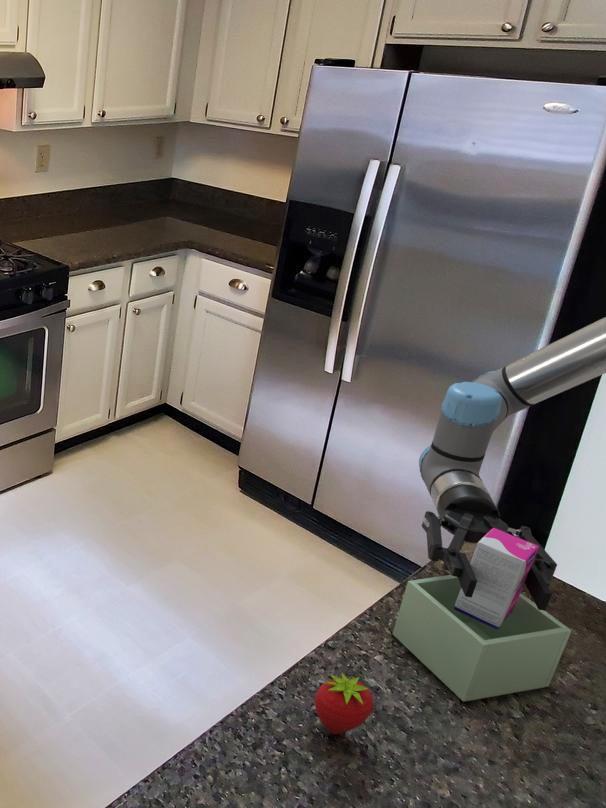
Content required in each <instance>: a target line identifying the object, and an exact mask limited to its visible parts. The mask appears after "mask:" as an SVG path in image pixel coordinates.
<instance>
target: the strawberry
mask: <svg viewBox="0 0 606 808" xmlns="http://www.w3.org/2000/svg"><path fill="white" fill-rule="evenodd" d="M329 676H330V678H332V679H329V680H327V681H324V682H323V683H322V684H321V685H320V687H319V688H318V690H317V691H316V693H315V695H314V705H315V707H314V708H315V713H316V715H317V717H318V719H319V720H320V722H321V724H322V725H323V726H324V727H325V728H326V730H327V732H329V733H330V734H331V735H340V734H341V733H346V732H349V731H352V730H354V729H356V728H358V727H359V726H361V725H363V723H365V722H366V721H367V719H368V718H369V717H370V716H371V714H372V712H373V710H374V696H373V694H372V692H371V690H370V688H369V687H367V686H365V685H364V684H363V683H361V682H359V679H360V676H358V677H355V678H348V677H347V676H346V675H345V674H344V673H343V672H341V677H338V676H336V675H334V674H331V673H329Z"/></svg>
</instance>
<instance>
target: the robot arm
mask: <svg viewBox="0 0 606 808" xmlns="http://www.w3.org/2000/svg"><path fill="white" fill-rule="evenodd" d="M604 374H606V316H605V317H602V318H600V319H598V320H596V321H594V322H593V323H590V324H588V325H586V326H584V327H582V328H580V329H578V330H576V331H573V332H572V333H570V334H568V335H566V336H564V337H562V338H559V339H557V340H556V341H553V342H552V343H549V344H548V345H546V346H543V347H541V348H539V349H537V350H535V351H533V352H531V353H529V354H527V355H525V356H523V357H521V358H518V359H517V360H514V361H512V362H510V363H509V364H507V365H505V366H503V367H501V368H499V369H496V370H492V371H488V372H485V373H483V374H481V375H479V376H478V377H476V378H474V379H473V380H472V381H462V382H455V383H453V384H451V385H450V386H449V387H448V389H447V391H446V394H445V397H444V399H443V400H442V402H441V408H440V413H439V417H438V420H437V424H436V428H435V431H434V435H433V438H432V441H431V444H430V445H429V446H427V447H426V448H425V449H424V450H423V451H422V452H421V454H420V455H419V458H418V467H419V473H420V477H421V480H422V481H423V483H424V485H425V487H426V489H427V491H428V493H429V496H430V498H431V499H432V502H433V504H434V507H435V509H436V511H437V514H438V516H437V515H436V514H435V513H434V512H433V511H431V510H429V511H428V510H426V511H425V513H424V516H423V520H422V523H421V528H422V529H423V530H424V532H425V533H426V545H427V558H428V559H429V560H430V561H433V562H438V561H439V560H440V561H442V566H441V568H442V569H443V570H445V571H448V572H449V575H452V576H455V577H458V580H459V582H460V585H461V587H462V590H463V592H464V595H465V597H471V598H472V595H473V592H474V590H475V587H476V584H477V579H476V577H475V574H474V572H473V570H472V568H471V565H470V561H469V559H468V556H467V554H466V552H461V550H462V549H463V546H464V545H465V542H466V543H469V544H477V543H478V542H479V541H480V540H481V539H482V538H483V537H484V536H485V535H486V534H487V533H488V532H489V531H490V530H491V529H493V528H496V529H498V530H500V531H503V532H505V533H508V534H510V535H512V536H515V537H517V538H520V539H522V540H525V541H528V542H530V543H533V544H535V545H537V546H539V549H538V551H537V554H536V556H535V559H534V561H533V563H532V566H531V568H530V571H529V573H528V576H527V578H526V581H525V583H524V585H525V587H526V589H527V591H528V593H529V594H530V597H531V599H532V600H533V602H534V603H535V604H536V606H537V608H538V610H544V611H546V610H547V607H548V605H549V602H550V600H551V597H552V595H553V593H552V592H551V590H550V588H549V587H550V586H551V581H552V580H553V577H554V575H555V572H556V569H557V566H558V563H557V562H556V561H555V560H554V558H552V557H551V555H550V554H549V553H548V552H547V551H546V550H545V549H544V547H543V546H542V545H541V544H540V543H539V542H538V541H537V540H536V538H535V537H534V536H533V535H532V530H531V528H530V527H529V526H526V525H521V526H520V528H518V529H516V528H512V527H509V526H508V524H507V523H506V522H504V521H503V520H502V519H501V515H500V512H499V509H498V507H497V505H496V503H495V502H494V500H493V498H492V496H491V494H490V491H488V488H487V487H486V485H485V484H484V482H483V480H482V478H481V476H480V471H481V468H482V465H483V462H484V460H485V457H486V453H487V449H488V447H489V444H490V441H491V439H492V435H493V433H494V431H495V430H496V429H497V428H498V427H499V426H500V425H501V424H502V423H503V422H504V421H506V419H508V417H510V416H512V415H514V414H516V413H518V412H521V411H523V410H525V409H527V408H529V407H532V406H534V405H536V404H538V403H540V402H542V401H545V400H547V399H549V398H551V397H554V396H556V395H558V394H559V395H560V393H564V392H565V391H568V390H570V389H572V388H574V387H577V386H579V385H582V384H585V383H586V382H588V381H590V380H592V379H593V380H594V379H596V378H597V377H600V376H602V375H604ZM442 528H443V529H444V530H446V531H447V532H448V533H449V534H451V535H452V536H453V537H452V539H451V541H450V543H449V545H448V547H444V546H443V539H442Z"/></svg>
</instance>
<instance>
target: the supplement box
mask: <svg viewBox="0 0 606 808" xmlns="http://www.w3.org/2000/svg"><path fill="white" fill-rule="evenodd" d="M538 549H539V546H537V545H535V544H533V543H530V542H528V541H525V540H522V539H520V538H517V537H515V536H512V535H510V534H508V533H505V532H503V531H500V530H498V529H496V528H493V529H491V530H490V531H489V532H488V533H487V534H486V535H485V536H484V537H483V538H482V539H481V540H480V541H479V542H478V543H476V547H475V549H474V552H473V554H472V557H471V560H470V561H469V563H470V565H471V568H472V570H473V572H474V574H475V577H476V579H477V584H476V587H475V590H474V592H473V595H472V598H471V597H465V595H464V592H463V590H462V587H461V590H460V592H459V595H458V598H457V600H456V603H455V605H454V607H453V609H454V610H455V611H457V612H460V613H462V614H464V615H466V616H468V617H471V618H473V619H475V620H477V621H479V622H481V623H483V624H485V625H487V626H489V627H492V628H494V629H497V630H498V629H499V628H500V626H501V625H502V623H503V622H504V621H505V620H506V619H507V618H508V616H509V615H511V613H512V612H513V610H514V607H515V605H516V602H517V600H518V598H519V595H520V593H521V594H522V590H523V587H524V585H525V581H526V578H527V576H528V573H529V571H530V568H531V566H532V563H533V561H534V559H535V556H536V554H537V551H538Z"/></svg>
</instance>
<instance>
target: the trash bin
mask: <svg viewBox="0 0 606 808" xmlns="http://www.w3.org/2000/svg"><path fill="white" fill-rule="evenodd" d="M460 590H461V585H460V582H459V580H458V577H455V576H452V575H451V574H447V575H439V576H433V577H426V578H419V579H413V580H408V581H407V584H406V586H405V590H404V593H403V597H402V601H401V604H400V606H399V611H398V613H397V616H396V620H395V624H394V627H393V631H392V636H394V637H395V638H396V640H398V641H399V642H400V643H401V644H402V645H403V646H404V648H406V649H407V650H409V651H410V652H411V654H413V655H414V656H415V658H417V659H418V660H419V661H420V662H421V663H422V664H423V665H424V666H425V667H426V668H427V669H429V671H430V672H431V673H432V674H433V675H435V676H436V677H437V678H438V679H439V680H440V681H441V682H442V683H444V685H445V686H446V687H447V688H449V690H450V691H451V692H452V693H453V694H454V695H456V696H457V698H459V699H460V700H461V701H462V702H463V703H464V702H465V703H466V702H469V701H475V700H481V699H487V698H492V697H493V698H494V697H499V696H503V695H509V694H514V693H515V694H516V693H520V692H525V691H532V690H537V689H543V688H548V687H550V684H551V682H552V679H553V677H554V675H555V672H556V669H557V667H558V665H559V662H560V660H561V658H562V655H563V653H564V650H565V648H566V647H567V643H568V641H569V638H570V636H571V634H572V629H570V628H569V627H568V626H567V625H565V624H564V623H562V622H561V621H560V620H558V619H557V618H555V617H554V615H551V614H550V613H549V612H547V611H546V610H545V611H544V610H538V608H537V606H536V604H535V602H534V601H532V600H531V599H530V598H529V597H526V595H524V594H523V593H522V592H521V593H520V595H519V598H518V600H517V602H516V605H515V607H514V610H513V612H512V613H511V615H509V616H508V618H507V619H506V620H505V621H504V622H503V623H502V625H501V626H500V628H499V629H498V630H497V629H494V628H492V627H489V626H487V625H485V624H483V623H481V622H479V621H477V620H475V619H473V618H471V617H468V616H466V615H464V614H462V613H460V612H457V611H455V610H454V609H453V607H454V605H455V603H456V600H457V598H458V595H459V592H460Z"/></svg>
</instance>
